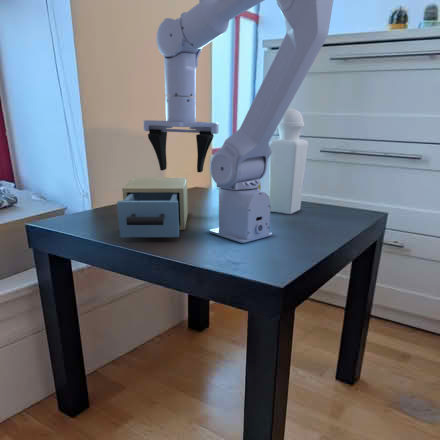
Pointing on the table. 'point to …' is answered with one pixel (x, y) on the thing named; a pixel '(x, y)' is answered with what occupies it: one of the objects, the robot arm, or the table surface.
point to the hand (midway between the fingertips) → (181, 170)
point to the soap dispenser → (287, 164)
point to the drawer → (149, 215)
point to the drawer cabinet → (161, 191)
